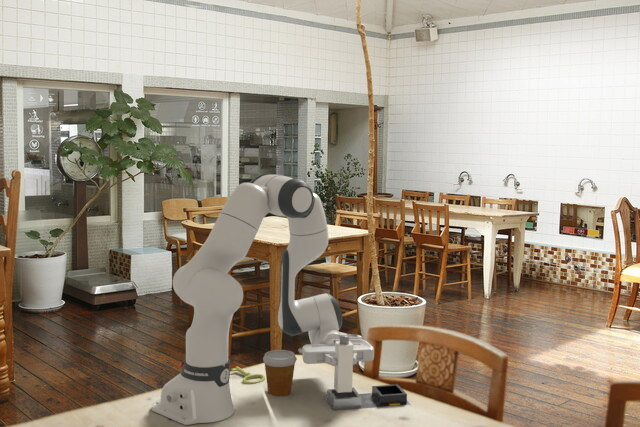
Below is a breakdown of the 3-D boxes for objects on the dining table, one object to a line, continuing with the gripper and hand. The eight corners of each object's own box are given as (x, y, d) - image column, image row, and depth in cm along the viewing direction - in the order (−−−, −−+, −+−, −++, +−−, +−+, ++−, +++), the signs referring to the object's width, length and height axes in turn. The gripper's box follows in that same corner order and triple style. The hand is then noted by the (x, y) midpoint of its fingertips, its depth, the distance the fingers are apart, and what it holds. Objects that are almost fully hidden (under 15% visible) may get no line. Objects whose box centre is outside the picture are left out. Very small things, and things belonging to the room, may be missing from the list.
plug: (337, 392, 187) (339, 338, 185) (334, 387, 191) (335, 334, 189) (351, 391, 188) (353, 337, 186) (348, 386, 191) (349, 333, 190)
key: (236, 372, 217) (236, 365, 216) (268, 380, 210) (268, 373, 210) (221, 378, 210) (221, 372, 210) (253, 387, 204) (253, 380, 204)
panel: (332, 414, 184) (332, 401, 184) (323, 400, 194) (323, 388, 193) (410, 407, 189) (410, 395, 189) (398, 394, 199) (398, 382, 198)
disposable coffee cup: (264, 388, 202) (264, 348, 200) (297, 389, 201) (297, 349, 200) (260, 401, 192) (260, 359, 191) (294, 402, 192) (295, 360, 190)
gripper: (297, 337, 198) (307, 352, 185) (365, 334, 203) (380, 349, 189) (296, 359, 199) (306, 375, 185) (365, 355, 203) (379, 371, 190)
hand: (344, 362), depth 187 cm, fingers closed on plug, 4 cm apart
